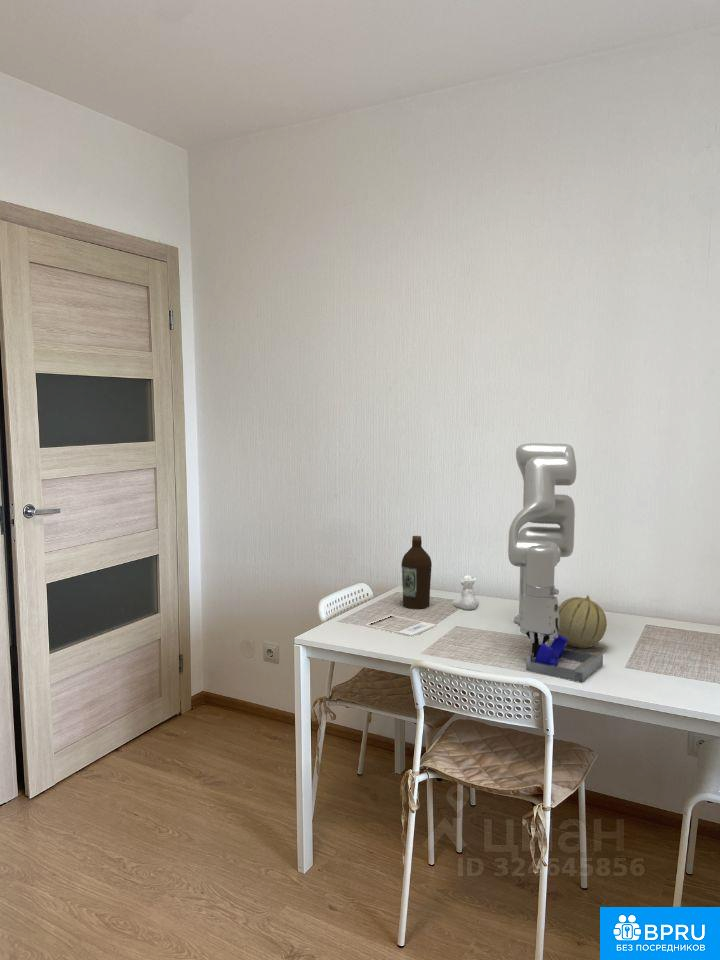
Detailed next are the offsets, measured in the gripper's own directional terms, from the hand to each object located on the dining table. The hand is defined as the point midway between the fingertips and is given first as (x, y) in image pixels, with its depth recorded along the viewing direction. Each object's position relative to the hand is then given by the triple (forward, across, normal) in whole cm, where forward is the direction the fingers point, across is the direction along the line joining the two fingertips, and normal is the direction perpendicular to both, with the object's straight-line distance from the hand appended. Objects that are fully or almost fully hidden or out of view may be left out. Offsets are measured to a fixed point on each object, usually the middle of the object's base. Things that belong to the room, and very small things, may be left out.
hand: (538, 656), depth 199 cm
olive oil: (+1, +60, -29) cm, 66 cm away
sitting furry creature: (+1, +44, -38) cm, 58 cm away
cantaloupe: (+2, -4, -21) cm, 21 cm away
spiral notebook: (+2, +49, -5) cm, 50 cm away
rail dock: (+2, -7, -1) cm, 7 cm away
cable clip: (+1, -3, 0) cm, 3 cm away
